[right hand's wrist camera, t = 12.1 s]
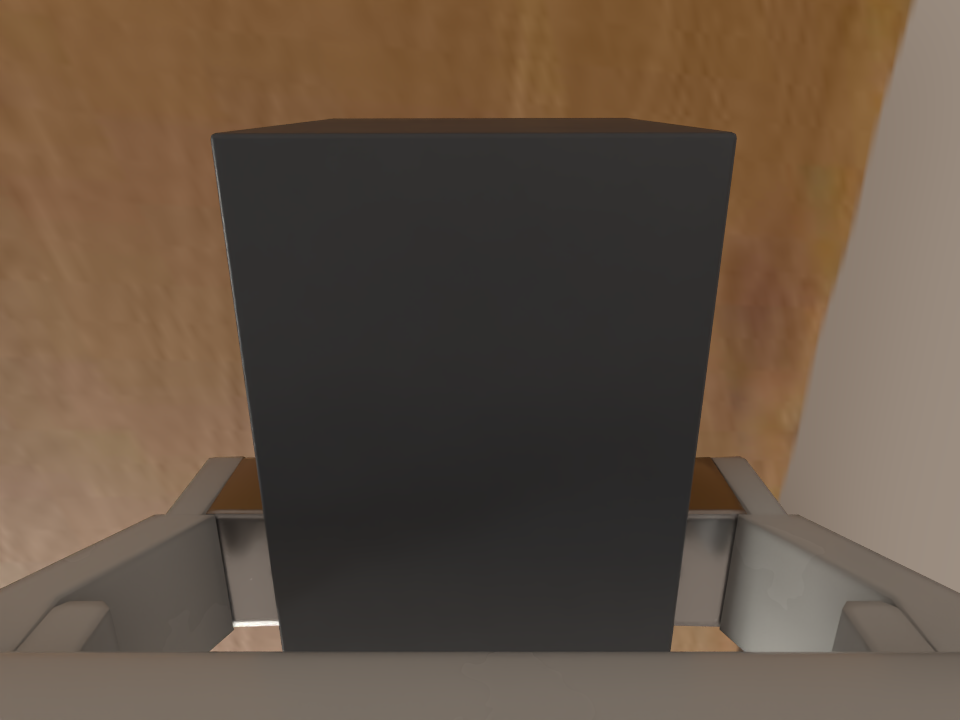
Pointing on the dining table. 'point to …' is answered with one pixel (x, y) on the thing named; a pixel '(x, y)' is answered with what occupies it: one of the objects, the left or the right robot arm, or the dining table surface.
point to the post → (475, 373)
